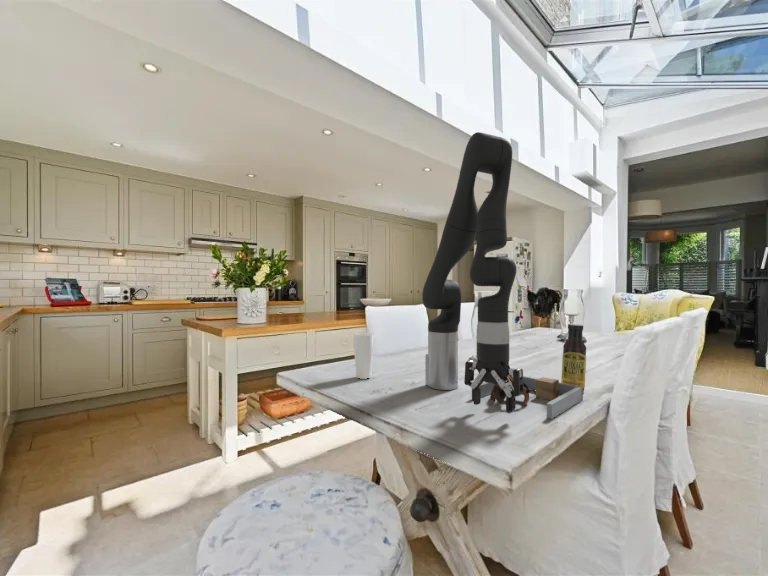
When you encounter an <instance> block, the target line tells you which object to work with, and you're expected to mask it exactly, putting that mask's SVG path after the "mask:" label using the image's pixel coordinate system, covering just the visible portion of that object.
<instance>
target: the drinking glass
mask: <svg viewBox="0 0 768 576" xmlns="http://www.w3.org/2000/svg"><path fill="white" fill-rule="evenodd" d="M374 339H375V338H374V333H373V332H356V333H354V334H353V351H354V363H355V378H356V379H358V378H360V379H359V380H368V379H367V378H369V379H371V378H372V376H373V375H372V374H373V359H374V358H373V357H374V347H375V345H374V344H375V343H374V342H375V340H374Z"/></svg>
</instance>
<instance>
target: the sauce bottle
mask: <svg viewBox="0 0 768 576" xmlns="http://www.w3.org/2000/svg"><path fill="white" fill-rule="evenodd" d="M567 330H568V331H567V332H568V335H567V339H566V341H565V343H564V344H563V346H562V347H563V350H562V351H563V352H562V360H561V362H562V363H561V382H560V383H565V384H570V385H575V386H581V387H583V393H584V392H585V387H586V370H587V369H586V368H587V346H586V344H585V343H584V341H583V331H584V325H583V324H577V323H568V325H567Z"/></svg>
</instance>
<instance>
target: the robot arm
mask: <svg viewBox="0 0 768 576" xmlns="http://www.w3.org/2000/svg"><path fill="white" fill-rule="evenodd" d="M512 146H513V145H512V143H511V141H510V140H509V139H507V138H505V137H501V136H497V135H493V134H490V133H489V134H488V133H485V132H479V131H478V132H474V133H473V134H472V135H471V136H470V138H469V140H468V142H467V144H466V147H465V150H464V153H463V157H462V162H461V167H460V170H459V175H458V180H457V185H456V189H455V191H454V196H453V200H452V203H451V205H450V209H449V212H448V215H447V218H446V221H445V225H444V227H443V230H442V235H441V239H440V242H439V246H438V248H437V251H436V253H435V254H436V255H435V257H434V260H433V263H432V265H431V268H430V271H429V272H428V274H427V277H426V279H425V283H424V284H423V287H422V294H421V297H422V298H421V299H422V303H423V305H424V307H425V308H427V309H428V310H440V314H438V316H437V317H435V318H433V319H432V320H430V321H429V322H428V323H427V354H425V357H424V358H425V359H424V360H425V362H424V365H425V370H424V371H425V376H424V377H425V382H424V383H425V386H428V387H429V388H430V389H435V390H439V391H440V390H441V391H448V390H449V391H450V390H451V391H452V390H455V389H457V388H458V387H459V325H460V322H461V312H462V311H461V309H462V289H461V286H460V284H459V283H458V282H457V281H456V280H454V279H448V277H449V274H450V273H451V271H452V270H453V268H454V267H455V266H456V265H457V264H458V263H459V262H460V261H461V260H462V259H463V257H465V255H466V254H468V252H469V251H470V250H471V248H472V247H473V246H474V242H475V239H476V245H475V250H474V251H475V252H474V256H473V259H472V262H471V265H470V270H469V278H470V280H471V282H472V283H473V285H475V286H477V287H499V290H498V291H497V292H496V293H495V294H491V295H487V296H482V297H480V298H479V299H478V300H477V325H476V360H477V361H475V360H473V359H472V360H467V361H465V363H464V380H463V381H464V384H465V386H468V387H470V388H471V400H472V403H473V405H476V406H477V405H479V404H481V401H482V400H481V399H482V398H481V388H479V387H480V385H481V384H482V383H483V382H487V383H490V382H491V383H493V384H496V385H497V384H499V386H500V387H501V389H503V390H504V392H505V393H506V397H505V413H507V414H511V413H513V412H514V411H515V409H516V397H520V396H522V394H524V383H523V376H524V370H523V369H522V367H519V368H513V367H510V364H509V363H510V326H509V304H510V296H511V293H512V290H513V289H512V287H513V286H514V282H515V279H516V275H517V264H516V263H515V261H514V259H513V258H511V257H509V256H486V255H487V254H488V253H490V252H493V251H497V250H501V249H503V248H504V247H505V246H506V245H507V241H508V234H507V233H508V230H507V204H508V203H507V200H508V194H509V188H510V180H511V179H510V178H511V172H512V165H513V162H512V161H513V147H512ZM478 173H483V174H486V175H487V174H488V175H491V178H492V185H491V190H490V191H489V193H488V194H487V196H486V198H485V200H484V201H482V204H481V205H480V208H479V209H478V206H477V203H476V197H475V186H476V185H475V184H476V179H477V174H478ZM475 370H477V372H478V374H477V376H476V377H475ZM509 374H511V377H512V378H513V382H514V388H513V386H512V383H511V381H510V379H509V378H508V375H509ZM503 381H504V382H505V383H504V382H503Z"/></svg>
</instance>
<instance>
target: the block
mask: <svg viewBox="0 0 768 576" xmlns="http://www.w3.org/2000/svg"><path fill="white" fill-rule="evenodd" d="M559 383H560V380H559V379H556V378H551V377H544V376H542V377H540V378H538V379H537V380H536V391H535V398H537V397H538V399H541V398H542V399H543V400H546V399H547V400H546V401H550V400H551V401H552V400H554V399H556V398H557V397H559Z"/></svg>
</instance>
